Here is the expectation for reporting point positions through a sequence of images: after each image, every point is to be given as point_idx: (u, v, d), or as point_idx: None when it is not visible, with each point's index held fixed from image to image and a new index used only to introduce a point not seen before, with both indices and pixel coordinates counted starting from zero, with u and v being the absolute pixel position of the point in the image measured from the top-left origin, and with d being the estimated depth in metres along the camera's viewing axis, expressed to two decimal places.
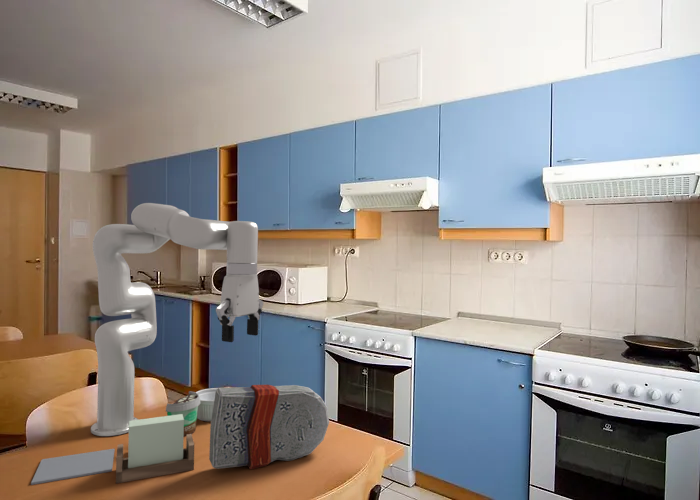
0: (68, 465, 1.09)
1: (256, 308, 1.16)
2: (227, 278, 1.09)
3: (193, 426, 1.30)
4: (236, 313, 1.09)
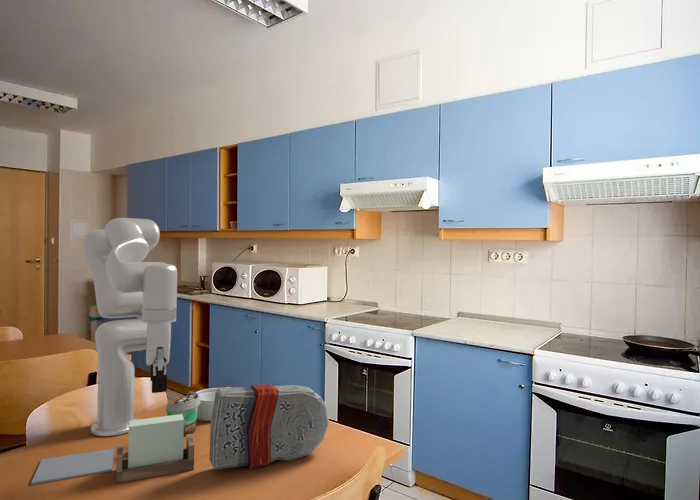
0: (68, 465, 1.09)
1: None
2: (157, 326, 1.04)
3: (193, 426, 1.30)
4: (168, 360, 1.05)
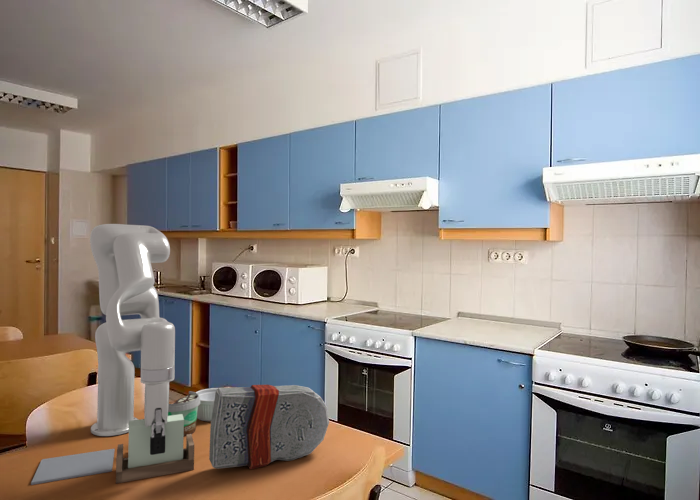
0: (68, 465, 1.09)
1: None
2: (155, 387, 1.04)
3: (193, 426, 1.30)
4: None
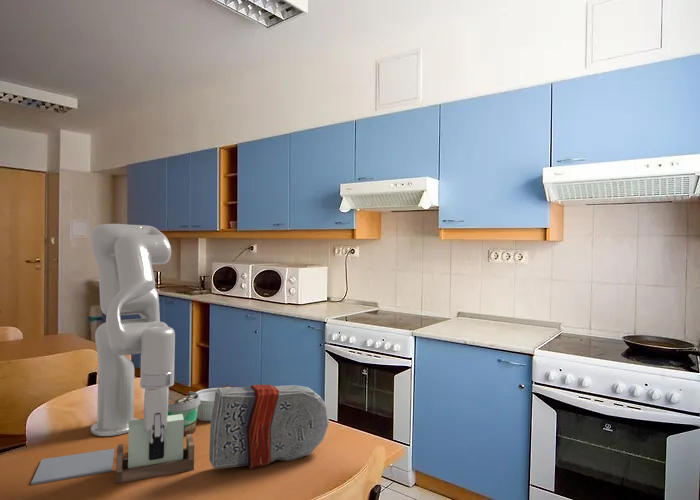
0: (68, 465, 1.09)
1: None
2: (154, 392, 1.04)
3: (193, 426, 1.30)
4: (166, 426, 1.05)
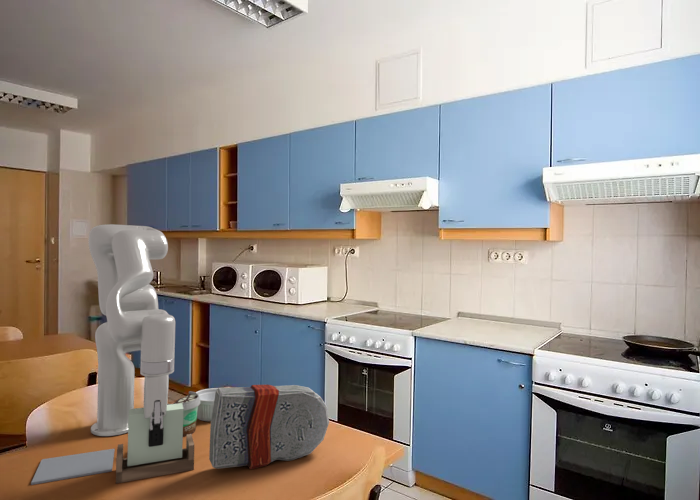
0: (68, 465, 1.09)
1: None
2: (154, 379, 1.04)
3: (193, 426, 1.30)
4: None
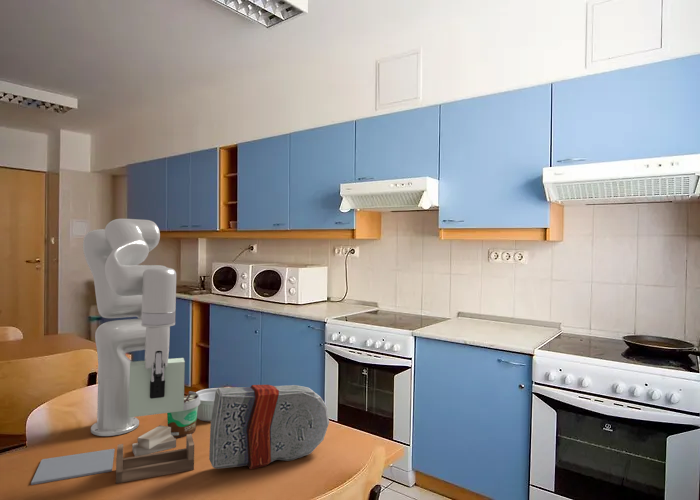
0: (68, 465, 1.09)
1: None
2: (155, 330, 1.04)
3: (193, 426, 1.30)
4: (167, 364, 1.06)
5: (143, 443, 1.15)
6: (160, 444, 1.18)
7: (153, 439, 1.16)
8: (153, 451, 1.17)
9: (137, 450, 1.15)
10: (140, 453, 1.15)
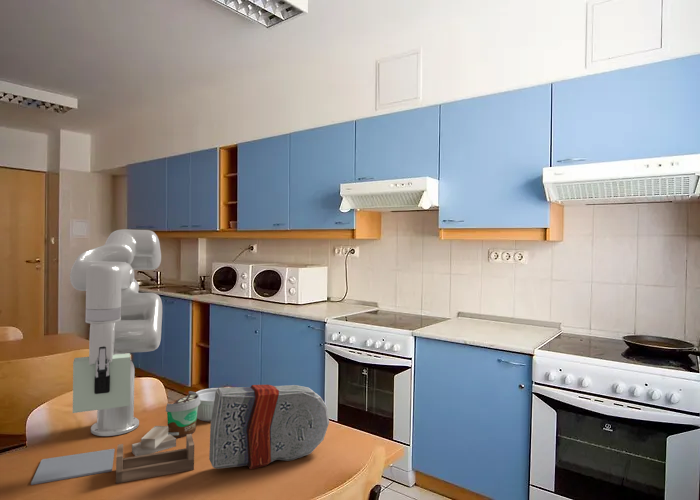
0: (68, 465, 1.09)
1: None
2: (99, 326, 1.05)
3: (193, 426, 1.30)
4: None
5: (147, 443, 1.15)
6: (161, 443, 1.19)
7: (157, 438, 1.16)
8: (154, 451, 1.17)
9: (138, 450, 1.15)
10: (141, 453, 1.15)
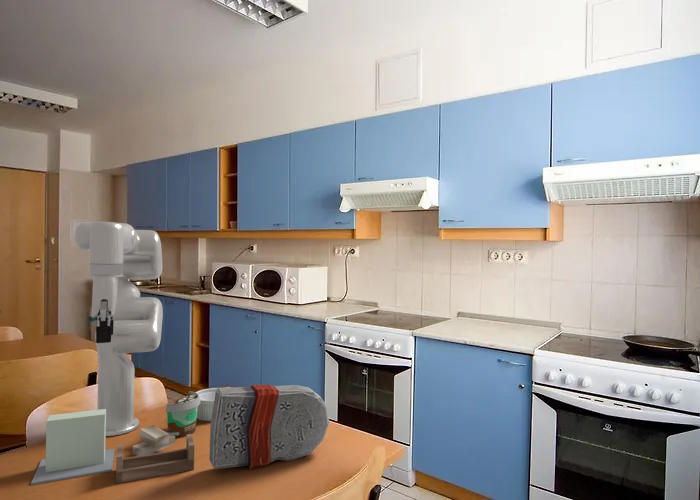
0: None
1: None
2: (101, 279, 1.09)
3: (193, 426, 1.30)
4: (113, 313, 1.10)
5: (162, 440, 1.17)
6: None
7: None
8: (156, 450, 1.18)
9: (143, 450, 1.15)
10: (146, 453, 1.15)
